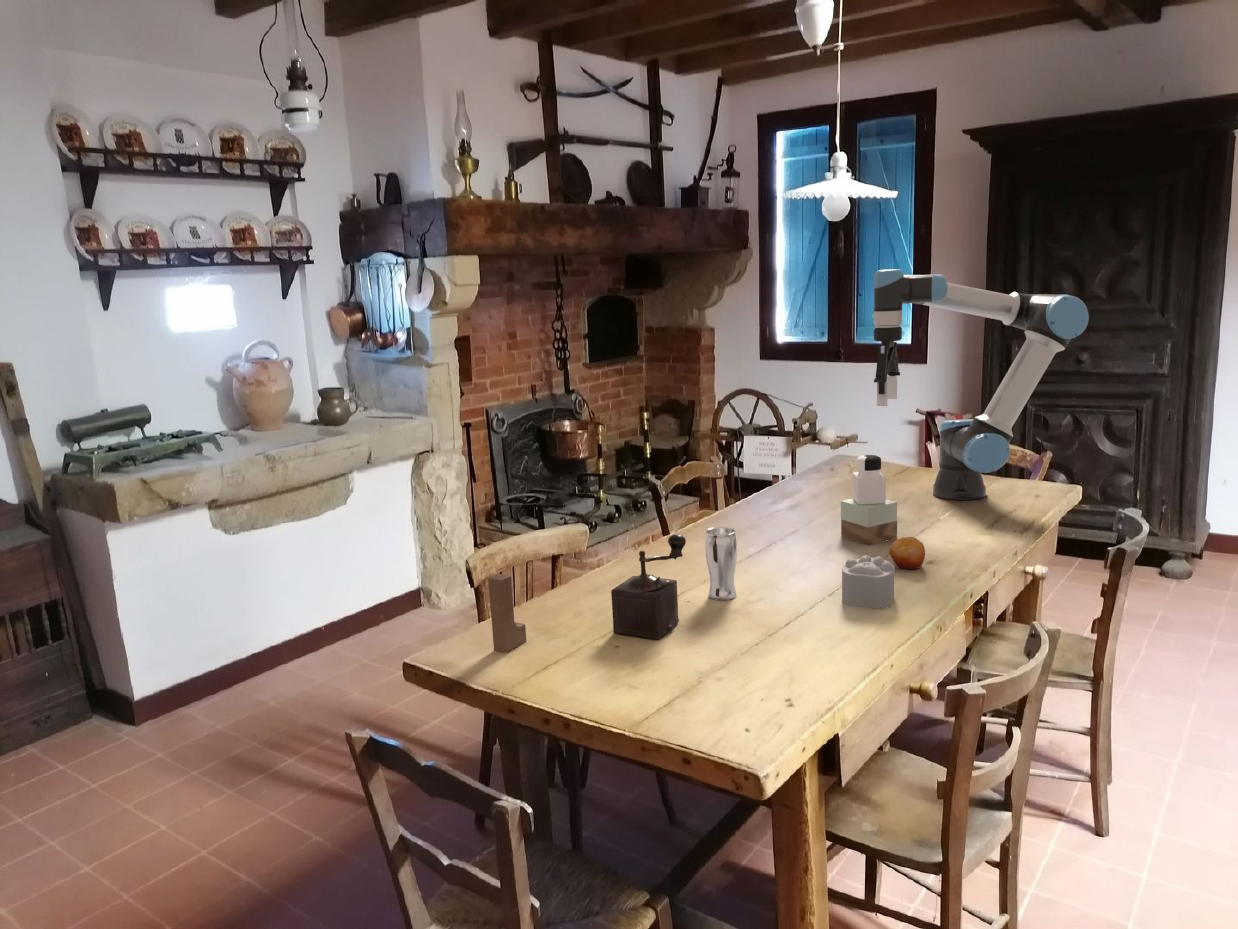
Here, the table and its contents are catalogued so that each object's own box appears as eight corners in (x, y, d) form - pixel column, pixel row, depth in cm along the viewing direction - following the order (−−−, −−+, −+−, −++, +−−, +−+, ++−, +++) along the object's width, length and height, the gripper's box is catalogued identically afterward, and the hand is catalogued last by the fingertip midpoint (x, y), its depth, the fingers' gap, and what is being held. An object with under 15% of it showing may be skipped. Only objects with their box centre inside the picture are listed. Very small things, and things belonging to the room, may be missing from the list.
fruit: (928, 555, 220) (926, 532, 215) (924, 580, 215) (922, 557, 210) (893, 552, 223) (891, 529, 218) (888, 577, 218) (886, 554, 213)
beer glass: (718, 603, 200) (716, 537, 196) (700, 594, 206) (698, 530, 203) (744, 597, 203) (743, 531, 200) (726, 588, 209) (725, 524, 206)
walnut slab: (869, 530, 248) (869, 512, 247) (897, 539, 239) (897, 520, 238) (841, 537, 243) (841, 519, 242) (868, 546, 235) (868, 527, 233)
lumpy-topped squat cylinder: (838, 605, 195) (838, 566, 193) (851, 585, 206) (851, 549, 205) (888, 611, 190) (888, 571, 189) (898, 590, 202) (899, 553, 200)
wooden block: (506, 653, 179) (500, 580, 176) (493, 650, 181) (487, 578, 178) (526, 641, 185) (521, 570, 182) (514, 638, 186) (508, 568, 183)
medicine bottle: (880, 497, 242) (880, 452, 240) (886, 503, 235) (886, 458, 233) (852, 498, 243) (852, 454, 240) (857, 505, 236) (857, 459, 234)
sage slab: (869, 513, 247) (869, 494, 246) (896, 520, 238) (897, 502, 237) (840, 519, 242) (840, 500, 241) (867, 527, 233) (867, 508, 232)
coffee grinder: (661, 641, 181) (657, 554, 177) (612, 634, 186) (607, 549, 182) (692, 614, 194) (689, 532, 190) (646, 608, 199) (642, 528, 196)
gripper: (883, 323, 267) (882, 395, 271) (864, 330, 245) (863, 408, 250) (909, 322, 263) (908, 396, 268) (892, 329, 242) (892, 409, 246)
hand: (887, 402), depth 259 cm, fingers open, 13 cm apart
